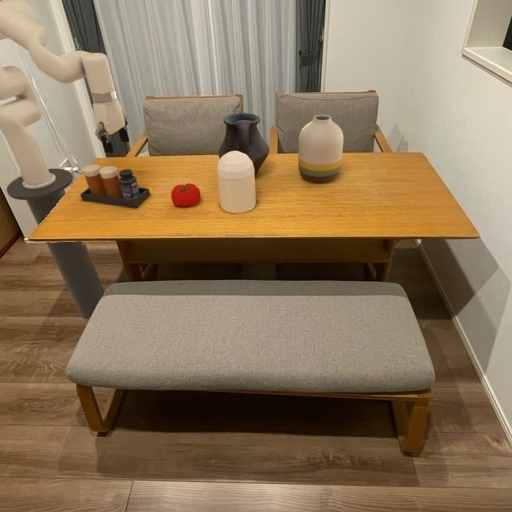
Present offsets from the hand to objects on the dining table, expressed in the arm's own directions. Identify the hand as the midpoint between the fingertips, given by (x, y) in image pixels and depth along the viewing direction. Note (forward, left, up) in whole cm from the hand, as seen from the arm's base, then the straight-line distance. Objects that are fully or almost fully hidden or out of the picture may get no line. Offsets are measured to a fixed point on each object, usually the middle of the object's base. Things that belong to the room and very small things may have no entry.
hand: (117, 146), depth 135 cm
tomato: (+22, +3, -22) cm, 31 cm away
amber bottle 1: (-15, 0, -21) cm, 25 cm away
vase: (+66, +35, -22) cm, 78 cm away
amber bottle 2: (-7, 0, -21) cm, 22 cm away
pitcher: (+36, +30, -22) cm, 51 cm away
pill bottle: (0, 0, -21) cm, 21 cm away
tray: (-7, 0, -21) cm, 22 cm away
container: (+41, +7, -22) cm, 47 cm away
